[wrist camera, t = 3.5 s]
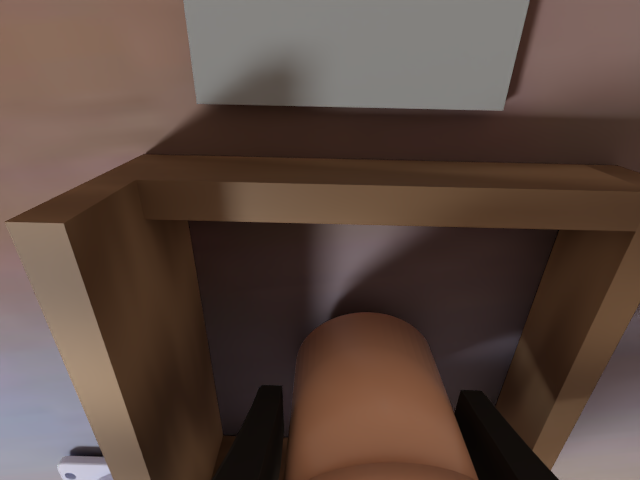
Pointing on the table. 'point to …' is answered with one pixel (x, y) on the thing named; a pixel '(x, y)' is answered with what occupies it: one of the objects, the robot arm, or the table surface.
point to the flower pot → (372, 406)
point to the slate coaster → (355, 52)
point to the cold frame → (321, 208)
